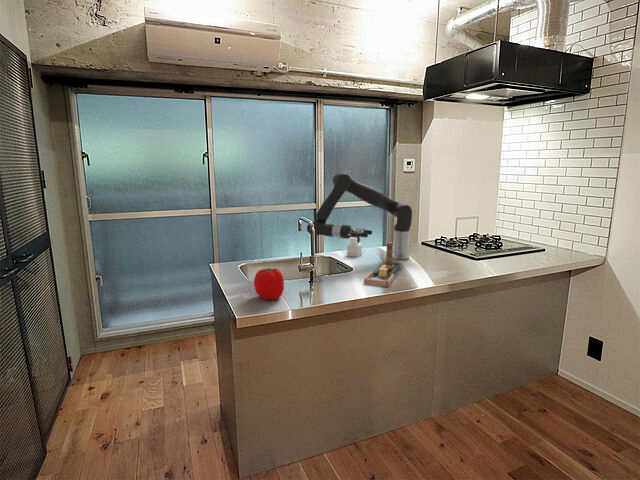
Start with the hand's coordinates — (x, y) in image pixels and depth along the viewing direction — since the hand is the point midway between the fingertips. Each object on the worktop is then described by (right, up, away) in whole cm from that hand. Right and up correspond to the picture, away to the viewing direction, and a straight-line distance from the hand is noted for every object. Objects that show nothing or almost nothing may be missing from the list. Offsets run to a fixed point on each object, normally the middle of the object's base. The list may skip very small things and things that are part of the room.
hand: (369, 234), depth 210 cm
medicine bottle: (-5, -13, +35) cm, 37 cm away
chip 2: (+8, -21, -7) cm, 23 cm away
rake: (+10, -19, 0) cm, 22 cm away
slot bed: (+9, -21, -4) cm, 23 cm away
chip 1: (+6, -22, -11) cm, 25 cm away
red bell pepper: (-49, -29, -38) cm, 69 cm away
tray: (+2, -24, -19) cm, 31 cm away
